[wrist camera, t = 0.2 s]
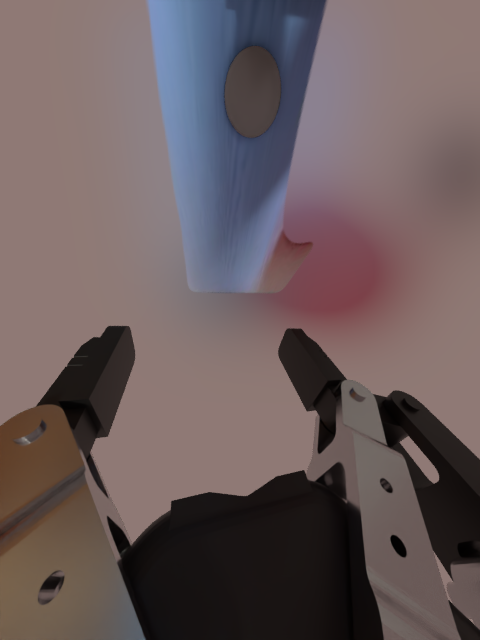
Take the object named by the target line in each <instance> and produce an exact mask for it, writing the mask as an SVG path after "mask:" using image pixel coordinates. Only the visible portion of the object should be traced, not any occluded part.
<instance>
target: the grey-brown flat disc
mask: <svg viewBox="0 0 480 640" xmlns="http://www.w3.org/2000/svg"><path fill="white" fill-rule="evenodd" d="M280 97H281V80H280V74H279V70H278V67H277V64H276V62H275V60H274V58H273V57H272V55H271V54H270V53H269V52H268V51H267V50H266V49H264V48H262V47H260V46H250V47H247V48H245V49H244V50H242V51H241V52H240V53H238V55H237V56H236V57H235V58H234V60H233V61H232V63H231V65H230V68H229V70H228V73H227V77H226V82H225V90H224V98H225V107H226V111H227V115H228V118H229V120H230V122H231V124H232V126H233V127H234V128H235V130H236V131H237V132H238V133H240V134H241V135H243V136H245V137H248V138H254V137H258V136H260V135H262V134H263V133H264V132H265V131H267V129H268V128H269V127H270V126H271V124H272V122H273V121H274V119H275V116H276V114H277V111H278V108H279V103H280Z"/></svg>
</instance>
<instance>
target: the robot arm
mask: <svg viewBox="0 0 480 640" xmlns="http://www.w3.org/2000/svg"><path fill="white" fill-rule="evenodd" d="M278 354H279V358H280V361H281V362H282V364H283V366H284V368H285V370H286V372H287V374H288V376H289V378H290V380H291V382H292V383H293V386H294V387H295V389H296V391H297V393H298V395H299V397H300V399H301V401H302V403H303V405H304V407H305V408H306V410H307V411H313V410H316V411H317V413H318V415H317V416H316V422H315V433H314V444H313V455H312V460H311V462H310V465H309V467H308V470H307V474H305V471H304V470H303V471H298V472H294V473H290V474H285V475H281V476H277V477H275V478H274V479H272V480H271V481H269V482H268V483H266V484H265V485H264V486H262V487H261V488H259V489H258V490H256V491H254V492H253V493H252V494H250V495H248V496H237V495H228V494H220V493H212V492H208V493H204V494H199V495H195V496H191V497H187V498H182V499H178V500H174V501H172V502H171V510H170V511H168V512H167V513H166V514H164V515H162V516H161V517H159V518H158V519H157V520H156V521H154V522H153V523H152V524H151V525H150V526H149V527H148V528H147V529H146V530H145V531H144V532H143V533H142V534H141V535H140V536H139V537H138V538H137V539H136V541H135V542H134V543H133V544H132V542H131V540H130V537H129V535H128V533H127V530H126V529H125V526H124V523H123V521H122V519H121V517H120V515H119V513H118V511H117V509H116V507H115V505H114V504H113V502H112V499H111V497H110V495H109V493H108V490H107V488H106V486H105V483H104V481H103V479H102V476H101V474H100V472H99V469H98V467H97V465H96V462H95V460H94V457H93V455H92V453H91V449H92V446H93V444H94V441H95V439H96V438H100V437H107V436H108V434H109V432H110V429H111V426H112V423H113V420H114V418H115V415H116V412H117V409H118V407H119V404H120V400H121V398H122V395H123V393H124V390H125V387H126V384H127V381H128V378H129V376H130V373H131V370H132V367H133V365H134V361H135V349H134V344H133V339H132V335H131V330H130V327H129V326H108V327H107V328H106V330H105V331H104V333H103V334H102V336H101V337H100V338H98V337H93V338H92V339H90V340H89V341H88V342H86V343H85V344H83V345H82V346H81V347H80V349H79V350H78V351H77V352H76V354H75V355H74V358H72V359H71V360H70V362H69V363H68V365H67V367H65V369H64V370H63V371H62V372H61V374H60V375H59V376H58V378H57V379H56V380H55V382H54V383H53V384H52V386H51V387H50V388H49V390H48V391H47V393H46V394H45V395H44V397H43V398H42V399H41V401H40V402H39V403H38V404H37V406H36V407H33V408H30V409H28V410H25V411H23V412H21V413H19V414H17V415H15V416H14V417H12V418H11V419H9V420H8V421H6V422H5V423H4V424H2V425H1V426H0V640H480V460H479V458H477V456H475V455H474V454H473V453H472V452H471V451H470V450H469V449H468V448H467V447H466V446H465V445H464V444H463V443H462V442H461V441H460V440H459V439H458V438H457V437H456V436H455V435H454V434H453V433H452V432H451V431H450V430H449V429H447V428H446V427H445V426H444V425H443V424H442V423H441V422H440V421H439V420H438V419H437V418H436V417H435V416H434V415H433V414H432V413H431V412H430V411H429V410H428V409H427V408H426V407H425V406H424V405H423V404H421V403H420V402H419V401H418V400H417V399H415V398H414V397H412V396H411V395H409V394H407V393H404V392H402V391H393V392H392V393H391V394H390V395H388V397H383V396H379V395H374V394H372V393H371V392H370V391H369V390H368V389H367V388H366V387H365V386H363V385H362V384H360V383H358V382H356V381H353V380H347V379H346V378H345V377H344V375H343V374H342V373H341V372H340V371H339V369H338V368H337V367H336V366H335V365H334V363H333V362H332V361H331V360H330V359H329V357H327V355H326V354H325V353H324V352H323V350H322V349H321V348H320V347H319V345H318V344H317V343H316V342H315V341H313V340H312V339H311V338H309V337H308V336H307V335H306V334H305V333H304V331H303V330H302V329H287V330H286V331H285V334H284V336H283V339H282V341H281V344H280V347H279V350H278ZM407 436H409V437H410V438H411V439H412V440H413V441H414V443H415V444H416V445H417V446H418V447H419V448H420V450H421V451H422V452H423V453H424V454H425V455H426V457H427V458H428V459H429V460H430V461H431V463H432V464H433V465H434V466H435V468H436V469H437V471H438V473H439V481H438V482H437V483H435V484H433V483H432V482H431V481H429V479H428V478H427V477H426V476H425V475H424V473H423V472H422V471H421V469H420V468H419V467H418V466H417V464H416V463H415V462H414V460H413V459H412V458H411V457H410V455H409V454H408V453H407V452H406V450H405V449H404V448H403V446H402V445H401V444H400V443H399V442H400V441H402V440H403V439H404V438H406V437H407ZM433 551H434V552H435V554H436V555H437V557H438V558H439V560H440V561H441V563H442V564H443V566H444V568H445V569H446V571H447V572H448V574H449V575H450V577H451V579H452V580H453V582H449V583H448V584H447V591H448V594H449V597H450V599H451V601H452V602H453V604H454V605H455V606H454V605H453V604H452V603H451V602H450V601H449V600H448V598H447V595H446V592H445V589H444V585H443V582H442V579H441V576H440V572H439V569H438V566H437V563H436V559H435V556H434V552H433ZM469 619H473V621H474V624H475V625H474V624H473V623H472V622H471V621H470V620H469Z"/></svg>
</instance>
